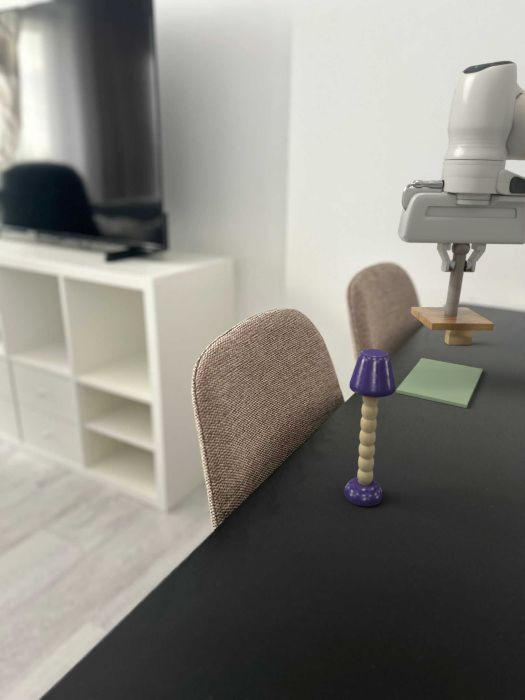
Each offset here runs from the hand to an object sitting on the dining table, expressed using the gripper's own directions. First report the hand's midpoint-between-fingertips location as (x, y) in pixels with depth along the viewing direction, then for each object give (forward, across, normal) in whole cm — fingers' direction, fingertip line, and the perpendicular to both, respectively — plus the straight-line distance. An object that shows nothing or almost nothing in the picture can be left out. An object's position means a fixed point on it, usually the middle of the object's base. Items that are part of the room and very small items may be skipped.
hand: (457, 271), depth 82 cm
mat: (+19, 0, 0) cm, 19 cm away
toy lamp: (+19, -22, -32) cm, 43 cm away
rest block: (+19, +12, +21) cm, 31 cm away
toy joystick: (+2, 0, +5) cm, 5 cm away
